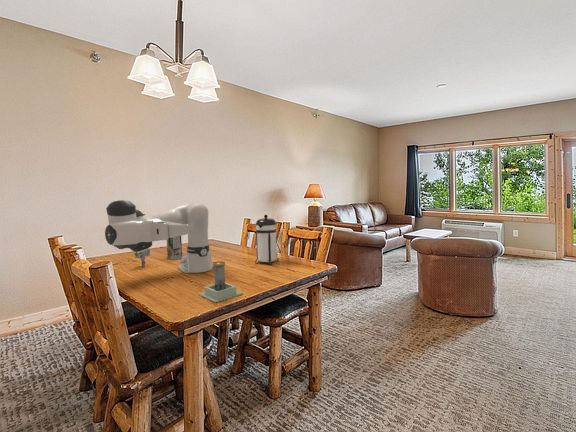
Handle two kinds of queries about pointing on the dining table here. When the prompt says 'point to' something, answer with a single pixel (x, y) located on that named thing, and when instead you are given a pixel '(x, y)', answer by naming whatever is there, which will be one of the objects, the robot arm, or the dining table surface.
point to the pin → (219, 275)
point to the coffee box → (174, 248)
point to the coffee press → (266, 240)
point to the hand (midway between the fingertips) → (187, 225)
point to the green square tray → (220, 293)
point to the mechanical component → (142, 256)
